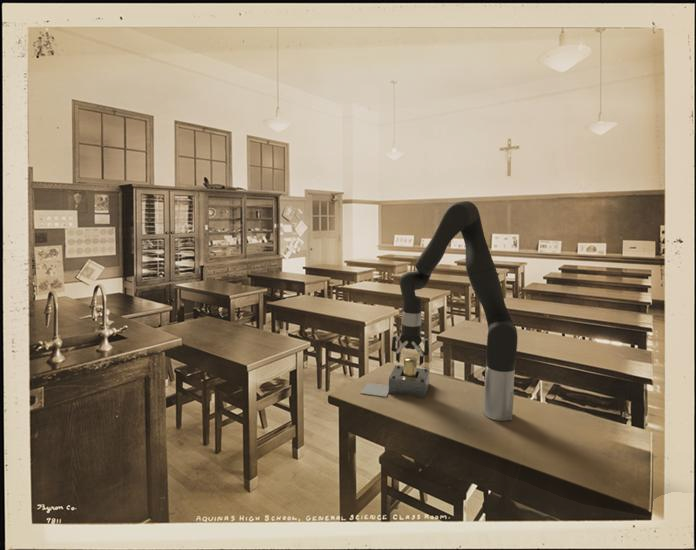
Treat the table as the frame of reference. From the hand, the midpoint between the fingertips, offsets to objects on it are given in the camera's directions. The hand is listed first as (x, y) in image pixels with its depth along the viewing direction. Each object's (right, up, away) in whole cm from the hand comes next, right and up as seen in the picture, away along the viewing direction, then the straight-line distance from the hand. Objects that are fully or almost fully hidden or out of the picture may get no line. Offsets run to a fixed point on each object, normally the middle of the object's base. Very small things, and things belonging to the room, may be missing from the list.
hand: (409, 363), depth 160 cm
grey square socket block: (0, -10, +2) cm, 10 cm away
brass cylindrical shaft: (0, -10, +2) cm, 10 cm away
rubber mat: (-13, -10, -1) cm, 17 cm away
